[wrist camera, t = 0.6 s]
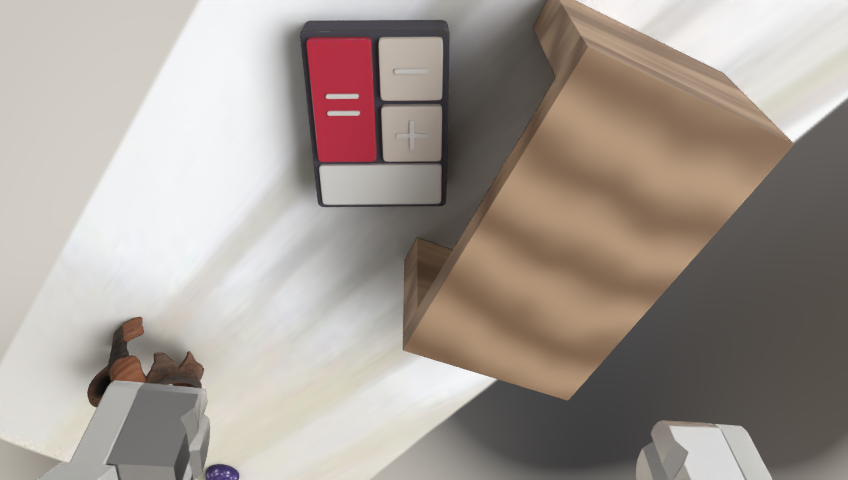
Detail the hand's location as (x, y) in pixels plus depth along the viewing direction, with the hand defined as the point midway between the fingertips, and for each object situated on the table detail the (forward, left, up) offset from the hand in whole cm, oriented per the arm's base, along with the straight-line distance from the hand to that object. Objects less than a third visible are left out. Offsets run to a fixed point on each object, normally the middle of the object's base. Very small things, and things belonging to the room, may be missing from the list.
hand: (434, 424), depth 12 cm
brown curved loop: (+50, -10, -42) cm, 66 cm away
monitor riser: (+13, +19, -42) cm, 48 cm away
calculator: (+14, +3, -43) cm, 45 cm away
